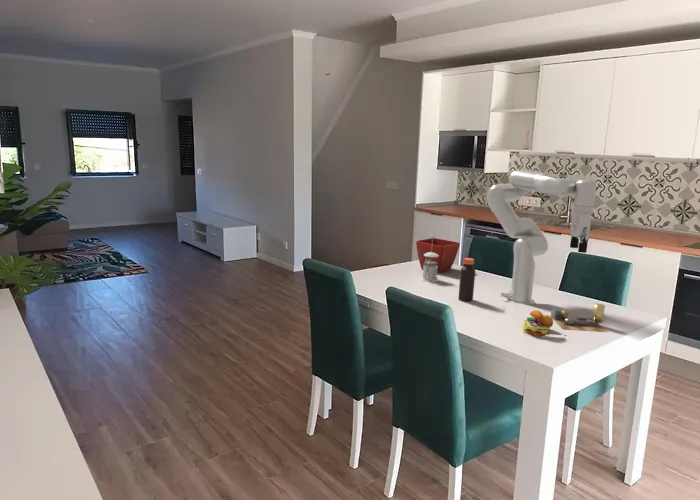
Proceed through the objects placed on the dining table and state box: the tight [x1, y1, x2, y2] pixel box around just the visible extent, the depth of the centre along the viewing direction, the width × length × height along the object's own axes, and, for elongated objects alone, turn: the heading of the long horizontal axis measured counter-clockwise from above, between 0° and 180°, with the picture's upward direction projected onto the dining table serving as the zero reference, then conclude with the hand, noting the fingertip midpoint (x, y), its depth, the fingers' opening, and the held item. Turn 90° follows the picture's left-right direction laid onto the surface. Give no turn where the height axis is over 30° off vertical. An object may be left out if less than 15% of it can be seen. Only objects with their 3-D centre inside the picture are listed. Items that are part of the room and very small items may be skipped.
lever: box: [564, 303, 606, 325], centre depth 209 cm, size 15×5×9 cm, turn 87°
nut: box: [561, 309, 570, 319], centre depth 217 cm, size 4×4×4 cm
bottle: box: [458, 257, 476, 303], centre depth 241 cm, size 7×7×20 cm
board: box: [549, 315, 609, 333], centre depth 211 cm, size 18×17×1 cm
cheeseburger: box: [521, 309, 554, 337], centre depth 202 cm, size 10×11×10 cm
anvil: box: [550, 306, 562, 321], centre depth 217 cm, size 2×5×4 cm, turn 175°
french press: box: [420, 234, 439, 283], centre depth 275 cm, size 10×12×25 cm
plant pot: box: [415, 237, 461, 274], centre depth 301 cm, size 19×19×17 cm
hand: (577, 250), depth 215 cm, fingers open, 9 cm apart
